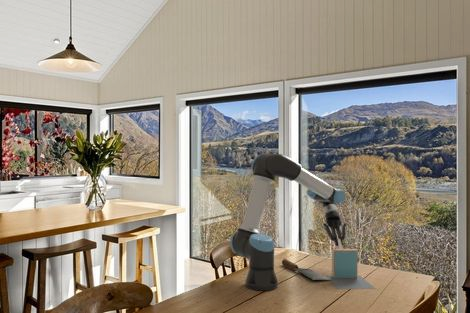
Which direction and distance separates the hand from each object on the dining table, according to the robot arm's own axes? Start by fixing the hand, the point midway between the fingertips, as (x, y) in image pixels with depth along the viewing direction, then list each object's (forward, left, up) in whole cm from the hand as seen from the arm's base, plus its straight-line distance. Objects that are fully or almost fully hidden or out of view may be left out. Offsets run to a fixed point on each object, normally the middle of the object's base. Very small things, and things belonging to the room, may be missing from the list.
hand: (341, 250), depth 203 cm
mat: (0, -14, -12) cm, 19 cm away
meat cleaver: (-18, +3, -12) cm, 22 cm away
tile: (0, -7, -12) cm, 14 cm away
